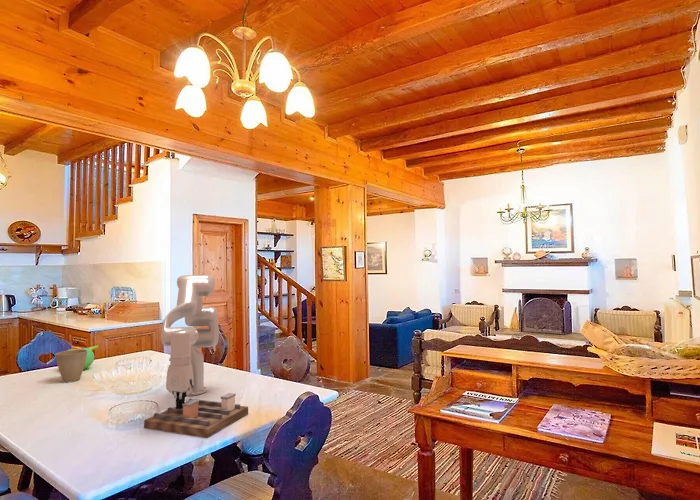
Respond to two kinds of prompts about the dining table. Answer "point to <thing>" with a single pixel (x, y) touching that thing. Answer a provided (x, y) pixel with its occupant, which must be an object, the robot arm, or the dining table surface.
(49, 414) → the dining table surface
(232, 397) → the fader cream
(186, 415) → the block
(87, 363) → the toy bird
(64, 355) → the plant pot
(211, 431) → the board
